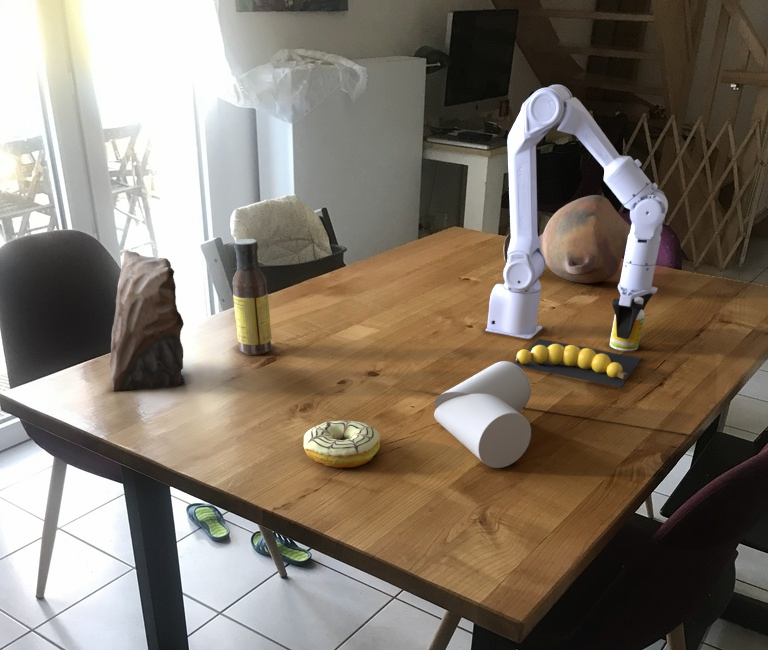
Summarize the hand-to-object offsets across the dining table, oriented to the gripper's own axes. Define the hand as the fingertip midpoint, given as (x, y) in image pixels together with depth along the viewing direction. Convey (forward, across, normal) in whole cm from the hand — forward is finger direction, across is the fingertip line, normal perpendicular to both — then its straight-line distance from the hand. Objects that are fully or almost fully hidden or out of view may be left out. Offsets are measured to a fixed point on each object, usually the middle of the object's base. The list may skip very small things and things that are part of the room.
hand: (626, 333), depth 155 cm
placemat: (+3, -13, +6) cm, 14 cm away
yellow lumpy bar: (+2, -17, +6) cm, 18 cm away
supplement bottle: (+3, 0, 0) cm, 3 cm away
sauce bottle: (+3, -38, +60) cm, 71 cm away
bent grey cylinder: (+3, -49, +9) cm, 50 cm away
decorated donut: (+3, -66, +25) cm, 71 cm away
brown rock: (+3, -59, +68) cm, 90 cm away
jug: (+3, +41, +25) cm, 48 cm away
